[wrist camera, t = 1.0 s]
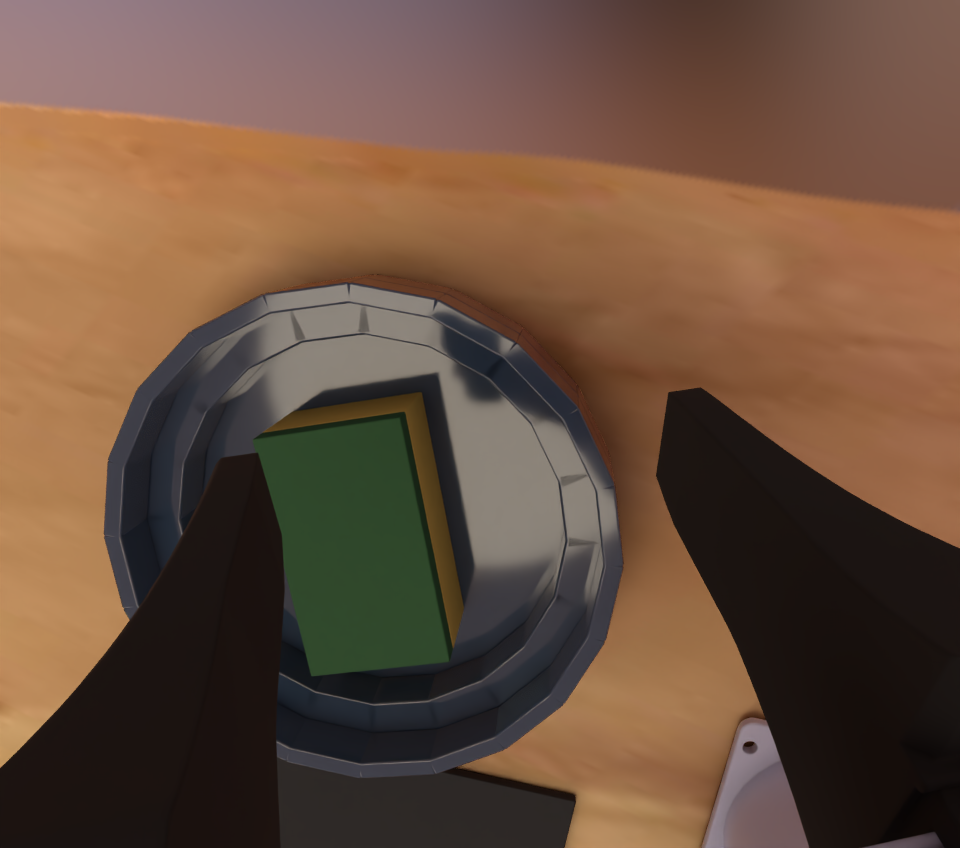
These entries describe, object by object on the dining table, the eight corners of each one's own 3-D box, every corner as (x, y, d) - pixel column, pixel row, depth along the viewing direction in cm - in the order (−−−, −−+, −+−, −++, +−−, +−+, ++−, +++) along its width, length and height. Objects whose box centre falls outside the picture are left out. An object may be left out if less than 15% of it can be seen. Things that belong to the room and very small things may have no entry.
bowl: (562, 747, 30) (561, 825, 26) (151, 656, 31) (92, 718, 27) (661, 325, 26) (677, 343, 22) (182, 235, 27) (118, 238, 23)
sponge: (464, 608, 29) (450, 662, 25) (341, 622, 29) (310, 677, 26) (421, 391, 27) (400, 417, 23) (291, 411, 27) (251, 439, 24)
